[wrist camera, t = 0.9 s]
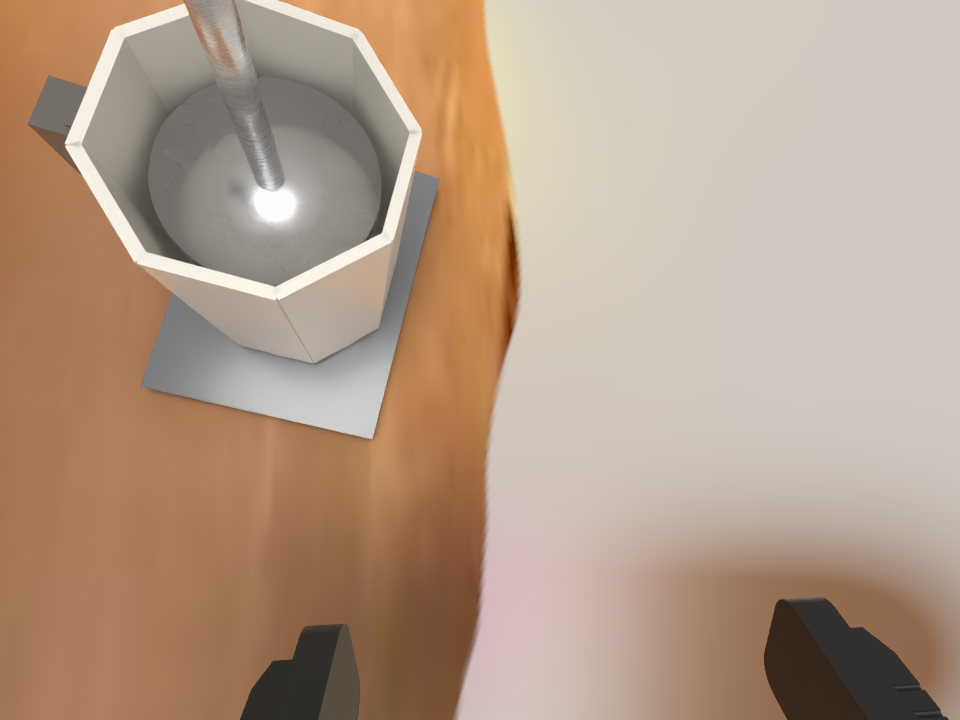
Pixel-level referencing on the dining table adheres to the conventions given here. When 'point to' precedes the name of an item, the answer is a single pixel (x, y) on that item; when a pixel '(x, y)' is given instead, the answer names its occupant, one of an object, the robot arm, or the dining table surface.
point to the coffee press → (234, 300)
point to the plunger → (260, 166)
